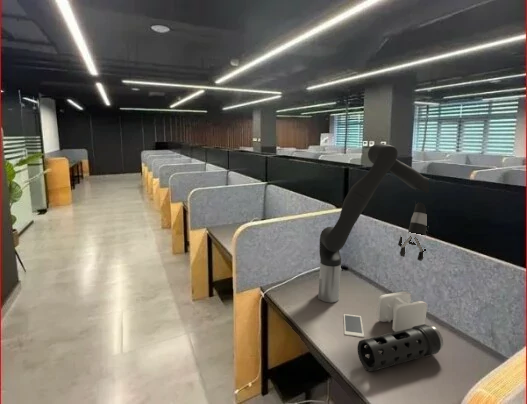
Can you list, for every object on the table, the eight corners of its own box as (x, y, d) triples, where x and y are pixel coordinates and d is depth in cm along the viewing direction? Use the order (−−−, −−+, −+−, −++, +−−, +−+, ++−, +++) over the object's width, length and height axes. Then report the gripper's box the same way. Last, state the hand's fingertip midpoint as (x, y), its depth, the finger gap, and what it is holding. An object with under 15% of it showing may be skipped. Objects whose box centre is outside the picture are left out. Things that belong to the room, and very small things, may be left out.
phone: (344, 336, 116) (344, 333, 116) (343, 316, 130) (343, 313, 130) (363, 339, 115) (364, 336, 115) (360, 318, 128) (361, 315, 128)
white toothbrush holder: (392, 336, 116) (395, 307, 114) (374, 320, 126) (377, 294, 124) (424, 329, 120) (428, 302, 118) (405, 315, 130) (408, 289, 128)
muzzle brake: (355, 361, 103) (357, 333, 101) (420, 343, 112) (423, 317, 110) (374, 381, 94) (377, 351, 92) (443, 361, 103) (447, 333, 101)
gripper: (400, 220, 146) (391, 253, 144) (429, 223, 133) (420, 259, 131) (410, 224, 149) (401, 257, 147) (439, 228, 137) (430, 263, 135)
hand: (410, 258), depth 139 cm, fingers open, 8 cm apart
